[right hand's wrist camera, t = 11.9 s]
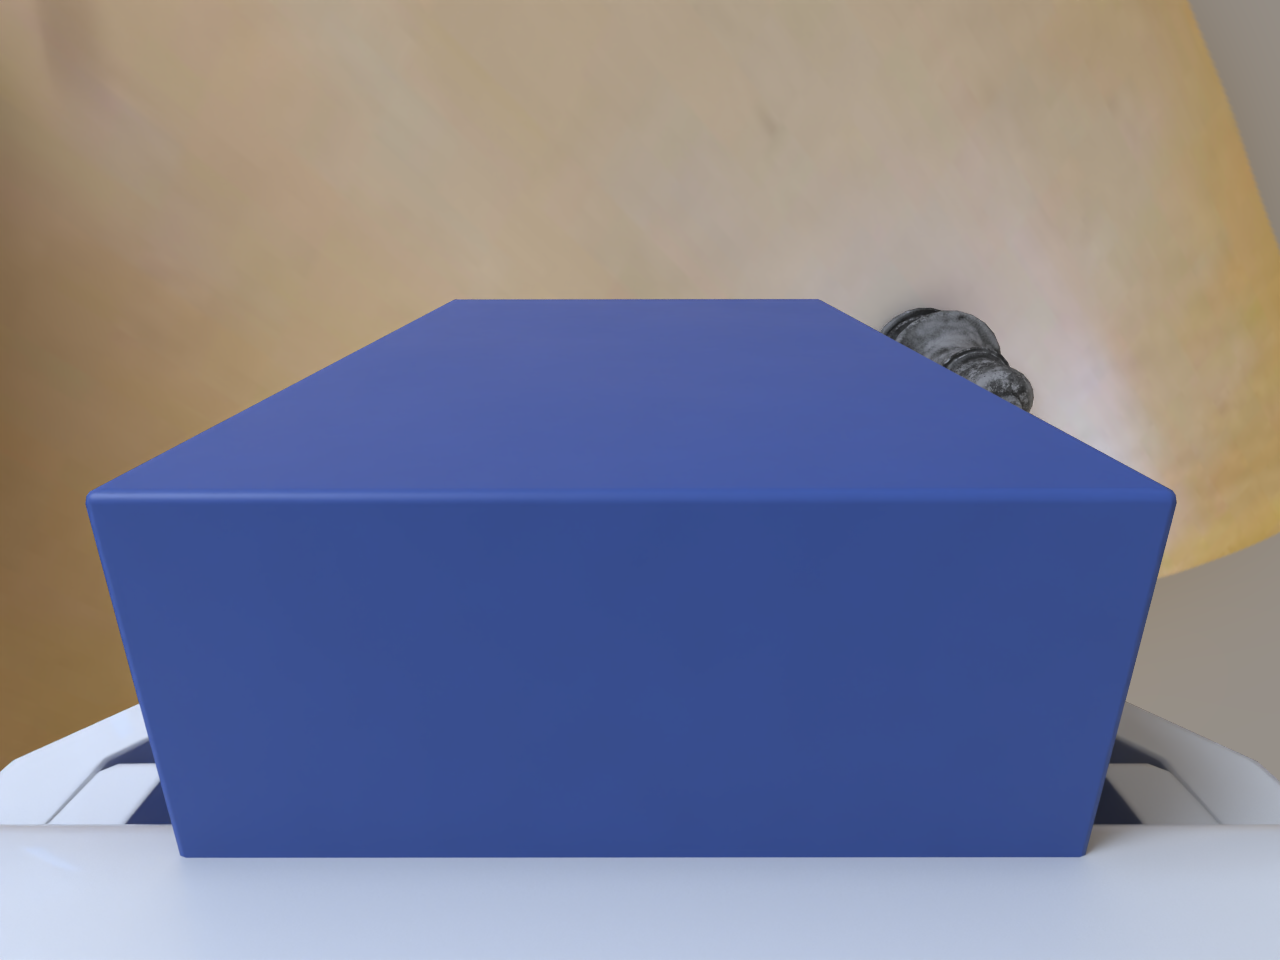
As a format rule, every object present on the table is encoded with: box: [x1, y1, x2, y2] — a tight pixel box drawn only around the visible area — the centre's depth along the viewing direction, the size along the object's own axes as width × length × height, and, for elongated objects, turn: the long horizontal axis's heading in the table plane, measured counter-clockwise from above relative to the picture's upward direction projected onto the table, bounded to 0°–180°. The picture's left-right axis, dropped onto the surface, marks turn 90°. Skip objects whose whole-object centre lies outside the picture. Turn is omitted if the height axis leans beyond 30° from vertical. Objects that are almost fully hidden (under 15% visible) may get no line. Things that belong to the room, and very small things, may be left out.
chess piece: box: [880, 308, 1034, 413], centre depth 36 cm, size 6×6×12 cm
